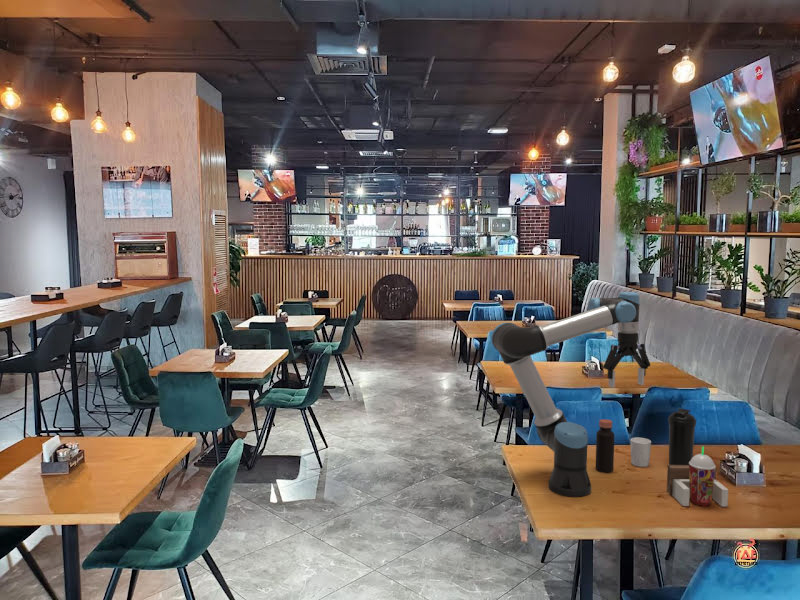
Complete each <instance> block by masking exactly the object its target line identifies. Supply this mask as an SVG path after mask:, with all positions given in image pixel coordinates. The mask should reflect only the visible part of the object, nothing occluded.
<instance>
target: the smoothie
mask: <svg viewBox="0 0 800 600" xmlns="http://www.w3.org/2000/svg"><path fill="white" fill-rule="evenodd" d="M704 452H705V446H701V453H697V454H695V455H693V457H692V459H691V461H689V484H690V498H689V499H690V500H691V502H692V504H695V505H697V504H698V505H697V506H701V505H703V507H704V506H705V507H707V506H709V505H710V503H711V502H712V492H713V483H714V475H715V468H716V467H717V466H716V464H715V462H714V461H713V459H712V458H711V457H710V456H709V455H707V454H704Z"/></svg>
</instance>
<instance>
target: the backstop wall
mask: <svg viewBox="0 0 800 600" xmlns="http://www.w3.org/2000/svg"><path fill="white" fill-rule="evenodd" d="M666 474H667V475H666V493H668V495H670V496H672V490H673V479H689V465H669V464H667V472H666ZM714 480H717V468H716V467H715V475H714Z"/></svg>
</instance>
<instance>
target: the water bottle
mask: <svg viewBox="0 0 800 600" xmlns="http://www.w3.org/2000/svg"><path fill="white" fill-rule="evenodd" d="M689 412H690V413H689ZM691 412H692V410H690V409H685V408H678V409H677V411H674V412H672V413H671V414H670V415H669V416H668V418H667V419H668V420H667V421H668V424H669V425H668V428H669V430H668V465H689V461H691V459H692V457H693V456H694V444H695V443H694V442H695V433H696V432H695V430H696V426H697V419H696V417H694V415H693V414H691Z"/></svg>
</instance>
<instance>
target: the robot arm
mask: <svg viewBox="0 0 800 600" xmlns="http://www.w3.org/2000/svg"><path fill="white" fill-rule="evenodd" d="M640 305H641V302H640V294H639V293H638V292H634V291H621V292H619V293H618V297H593V298H590V299H589V300H588V304H587V310H586V311H584V312H580V313H578V314H574V315H571V316H569V317H566V318H563V319H559V320H556V321H553V322H551V323H548V324H544V325H541V326H540V325H539V324H535V325H532V326H527V327H526V326H525V327H522V326H519V325H517V324H515V323H513V322H502V323H500V324H498V325H496V327H495V328H494V329H493V330H492V332H491V337H490V340H491V344H492V346H493V348H494V349H495V350H496V351H498V353H499V355H500V358H501V359H502V361H503V363H504V364H505V365H508V366H510V368H511V370H512V372H513V374H514V377H515V378H516V381H517V382H518V385H519V387H520V389H521V390H522V393H523V395H524V397H525V399H526V400H527V402H528V405H529V406H530V409H531V412H532V413H533V414H534V416H535V419H534V422H533V423H534V425H535V427H536V434H537V436H538V438H539V440H540V441H541V442H542V444H544V445H545V446H546V447H548V448H549V449H550V450H552V452H553V453H554V454H553V469H552V471H551V474H550V478H549V479H548V489H549V490H550V491H551V492H553V493H554V494H558V495H560V496H564V497H570V498H571V497H573V498H575V497H576V498H577V497H585V496H587V495H588V496H589V495H590V493H592V483H591V480H590V476H589V473H588V469H587V468H588V467H587V466H588V465H587V464H588V442H589V437H588V430H587V429H586V428H585V427H584V426H582V425H581V424H578V423H575V422H570V421H567V419H566V416H565V414H564V413H563V410H561V409H559V408H557V407H556V406H555V403H554V401H553V399H552V397H551V395H550V393H549V391H548V389H547V386H546V385H545V382H544V380H543V379H542V377H541V375H540V372H539V371H538V369H537V366H536V365H535V363H534V361H533V358H532V356H533V355H536V354H538V353H541V352H544V351H547V350H548V347H550V346H553V345H556V344H559V343H561V342H565V341H568V340H571V339H574V338H578V337H579V336H583V335H586V334H589V333H592V332H594V331H597V330H600V329H603V328H607V327H609V326H612V325H616V324H617V331H618V332H617V342H618V344H617V345H616V344H611V345H610V350H609V352H608V354H607V357H606V359H605V362H604V364H603V366H602V368H603V369H605V370H606V371H607V379H608V387H610V388H613V389H614V388H615V387H616V370H615V369H616V367H617V366H618V364H619V363H620V362H621V360H622V359H623V358H624V357H628V356H631V357H633V359H634V361H635V362H636V363H637V365H638V366H639V367H638V368H637V384H638V385H640V386H644V385H645V377H646V373H647V371H646V370H647V369H648V368H649V367H650V366H651V363H650V362H651V361H650V360H649V358H648V355H647V353H646V350H645V344H644V343H642V342H639V333H638V332H639V327H640V326H639V324H640V321H639V319H640Z"/></svg>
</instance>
